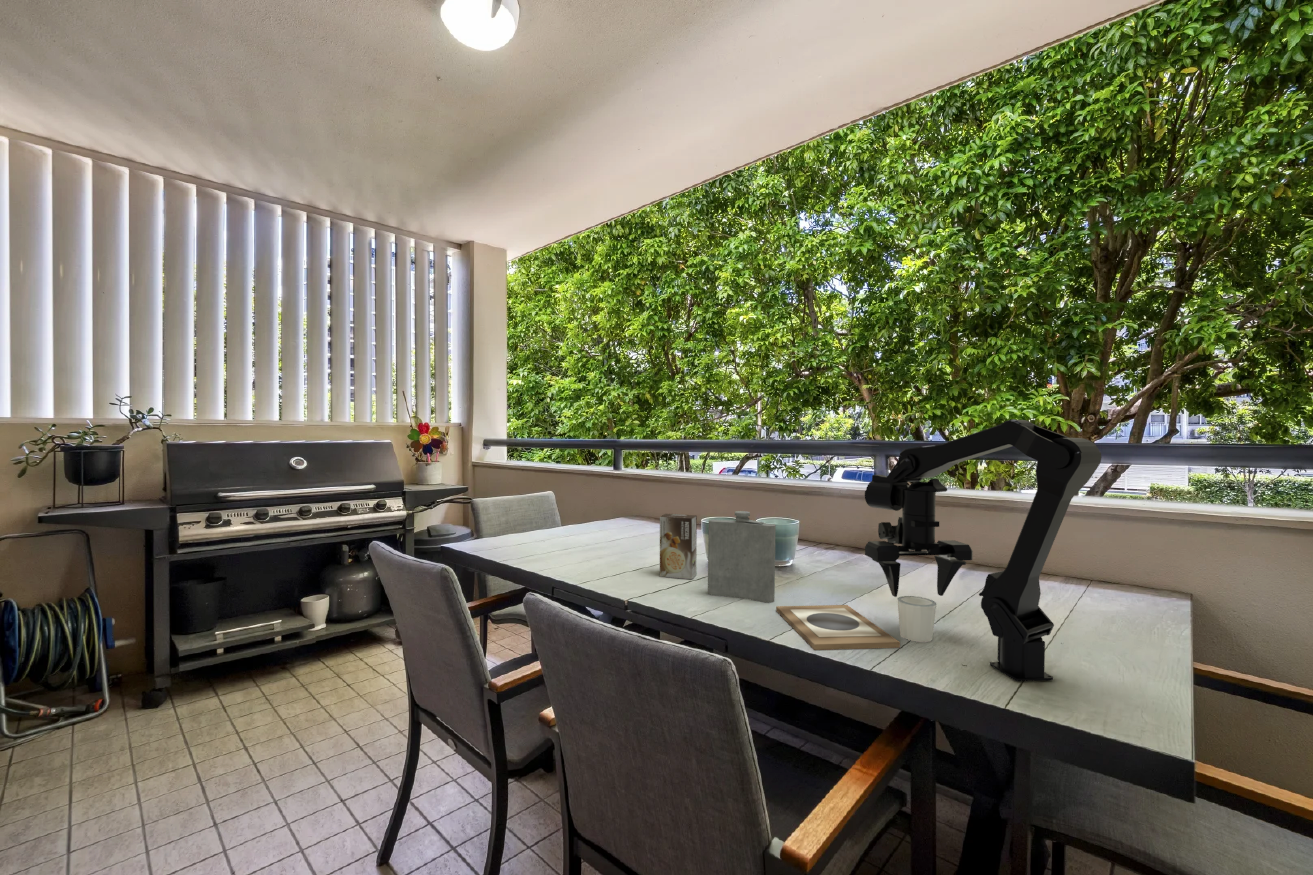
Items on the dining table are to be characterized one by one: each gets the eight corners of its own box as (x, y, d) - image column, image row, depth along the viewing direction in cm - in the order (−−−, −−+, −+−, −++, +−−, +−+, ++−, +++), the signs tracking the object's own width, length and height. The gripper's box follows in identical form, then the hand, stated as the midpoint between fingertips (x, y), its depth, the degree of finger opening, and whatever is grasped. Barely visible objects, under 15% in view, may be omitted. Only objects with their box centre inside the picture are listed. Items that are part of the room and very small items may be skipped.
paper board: (899, 647, 103) (900, 640, 103) (814, 649, 102) (814, 642, 102) (847, 609, 125) (847, 603, 125) (776, 610, 124) (776, 604, 124)
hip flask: (705, 594, 135) (706, 510, 135) (711, 590, 139) (712, 508, 139) (772, 603, 129) (774, 515, 129) (776, 598, 133) (777, 512, 132)
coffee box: (697, 574, 154) (698, 514, 154) (692, 579, 148) (693, 518, 148) (665, 571, 157) (665, 513, 157) (658, 576, 151) (659, 516, 151)
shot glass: (940, 645, 105) (941, 607, 105) (900, 641, 106) (901, 604, 106) (930, 632, 112) (931, 596, 112) (893, 629, 113) (893, 594, 113)
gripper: (939, 508, 118) (938, 583, 118) (852, 508, 116) (851, 585, 116) (975, 516, 107) (973, 599, 107) (879, 516, 105) (878, 601, 105)
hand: (917, 595), depth 109 cm, fingers open, 9 cm apart
